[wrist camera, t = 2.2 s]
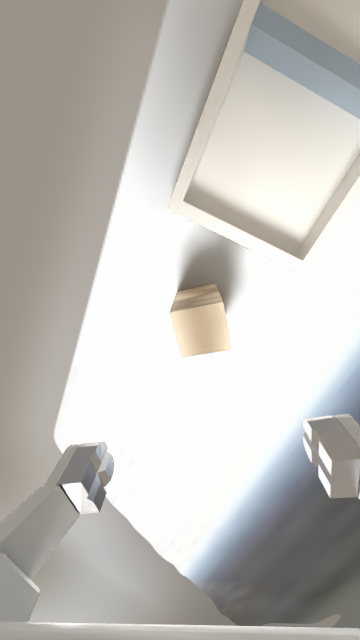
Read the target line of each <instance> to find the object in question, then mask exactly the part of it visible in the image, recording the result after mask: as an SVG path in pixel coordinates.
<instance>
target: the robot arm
mask: <svg viewBox="0 0 360 640" xmlns="http://www.w3.org/2000/svg"><path fill="white" fill-rule="evenodd" d="M303 428H304V430H305V433H304V434H303V443H304V446H305V450H306V452H307V455H308V457H309V459H310V461H311V463H312V464H314V465H315V466H316V467H318V468H319V478H320V480H321V482H322V484H323V486H324V487H325V489H326V491H327V493H328V495H329V497H330V498H344V497H359V499H360V425H359V424H358V423H357V422H356V421H355V420H354V419H353V418H352V417H351V416H350V415H348V414H342V415H333V416H323V417H315V418H307V419H303ZM106 450H107V446H106V444H105V442H100V443H88V444H77V445H70V446H69V447H68V448H67V449H66V450H65V452H64V454H63V455H62V457H61V459H60V460H59V462H58V464H57V465H56V467H55V469H54V470H53V472H52V473H51V475H50V477H49V478H48V480H47V482H46V484H45V485H44V486H43V487H40V488H38V489H37V490H36V491H35V492H34V493H33V494H32V495H31V496H29V497H28V498H27V499H26V500H25V501H24V502H23V503H22V504H21V505H19V506H18V507H17V508H16V509H15V510H14V511H13V512H12V513H11V514H9V515H8V516H7V517H6V518H5V519H4V520H3V521H2V522H1V523H0V640H360V628H320V627H318V628H317V627H264V626H210V625H208V626H207V625H205V626H204V625H154V624H100V623H94V624H93V623H45V622H28V621H29V619H30V616H31V614H32V611H33V609H34V607H35V604H36V602H37V600H38V597H39V595H40V590H39V588H38V587H37V586H36V585H35V584H34V583H33V582H32V581H31V579H32V578H33V577H34V575H35V574H36V573H37V571H38V570H39V568H40V567H41V566H42V565H43V563H44V562H45V561H46V560H47V558H48V557H49V556H50V554H51V553H52V552H53V550H54V549H55V548H56V546H57V545H58V544H59V542H60V541H61V540H62V538H63V537H64V536H65V534H66V533H67V532H68V530H69V529H70V528H71V526H72V525H73V524H74V523H75V521H76V520H77V518H78V517H79V514H88V513H97V512H100V510H101V507H102V504H103V501H104V498H105V495H106V489H105V486H106V485H107V484H108V483H109V481H110V480H111V477H112V474H113V468H114V462H113V458H112V456H111V454H109V453H108V452H106Z"/></svg>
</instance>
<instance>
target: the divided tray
mask: <svg viewBox="0 0 360 640" xmlns="http://www.w3.org/2000/svg"><path fill="white" fill-rule="evenodd" d="M359 197H360V0H243V3H242V5H241V8H240V11H239V14H238V16H237V19H236V22H235V25H234V27H233V30H232V33H231V35H230V38H229V41H228V44H227V46H226V49H225V52H224V55H223V57H222V60H221V63H220V65H219V68H218V71H217V74H216V76H215V79H214V82H213V85H212V87H211V90H210V93H209V96H208V98H207V101H206V104H205V106H204V109H203V112H202V115H201V117H200V120H199V123H198V126H197V128H196V131H195V134H194V137H193V139H192V142H191V145H190V147H189V150H188V153H187V156H186V158H185V161H184V164H183V167H182V169H181V172H180V175H179V177H178V180H177V183H176V186H175V188H174V191H173V194H172V197H171V199H170V202H169V205H168V209H169V210H170V211H172V212H174V213H176V214H178V215H180V216H182V217H184V218H186V219H188V220H190V221H192V222H194V223H196V224H198V225H200V226H202V227H204V228H206V229H208V230H210V231H213V232H215V233H217V234H219V235H221V236H223V237H225V238H227V239H229V240H231V241H233V242H235V243H237V244H239V245H241V246H243V247H245V248H247V249H249V250H251V251H253V252H255V253H257V254H260V255H262V256H264V257H266V258H268V259H270V260H272V261H274V262H276V263H278V264H280V265H282V266H284V267H286V268H288V269H290V270H292V271H295V272H298V273H300V274H303V275H306V274H307V272H308V271H309V270H310V268H311V267H312V265H313V264H314V262H315V261H316V259H317V258H318V256H319V255H320V254H321V252H322V251H323V249H324V248H325V246H326V245H327V243H328V242H329V241H330V239H331V238H332V236H333V235H334V233H335V232H336V230H337V229H338V228H339V226H340V225H341V223H342V222H343V220H344V219H345V217H346V216H347V215H348V213H349V212H350V210H351V209H352V207H353V206H354V204H355V203H356V202H357V200H358V199H359Z"/></svg>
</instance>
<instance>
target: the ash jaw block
mask: <svg viewBox="0 0 360 640" xmlns="http://www.w3.org/2000/svg"><path fill="white" fill-rule="evenodd" d="M170 315H171V319H172V322H173V326H174V330H175V334H176V337H177V341H178V345H179V349H180V353H181V356H182V357H187V356H193V355H200V354H206V353H212V352H219V351H225V350H231V346H230V340H229V334H228V327H227V321H226V315H225V309H224V303H223V300H222V297H221V295H220V292H219V290H218V287H217V285H216V283H215V284H210V285H205V286H201V287H196V288H191V289H186V290H182V291H177V293H176V296H175V299H174V302H173V305H172V308H171V311H170Z"/></svg>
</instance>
